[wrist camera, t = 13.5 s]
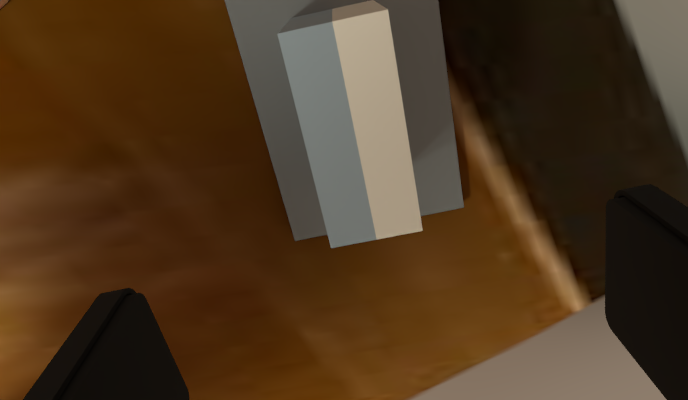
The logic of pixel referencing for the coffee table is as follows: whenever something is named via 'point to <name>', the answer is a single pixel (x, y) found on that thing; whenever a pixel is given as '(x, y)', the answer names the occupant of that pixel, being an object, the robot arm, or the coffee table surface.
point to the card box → (353, 121)
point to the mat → (416, 89)
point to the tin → (3, 3)
